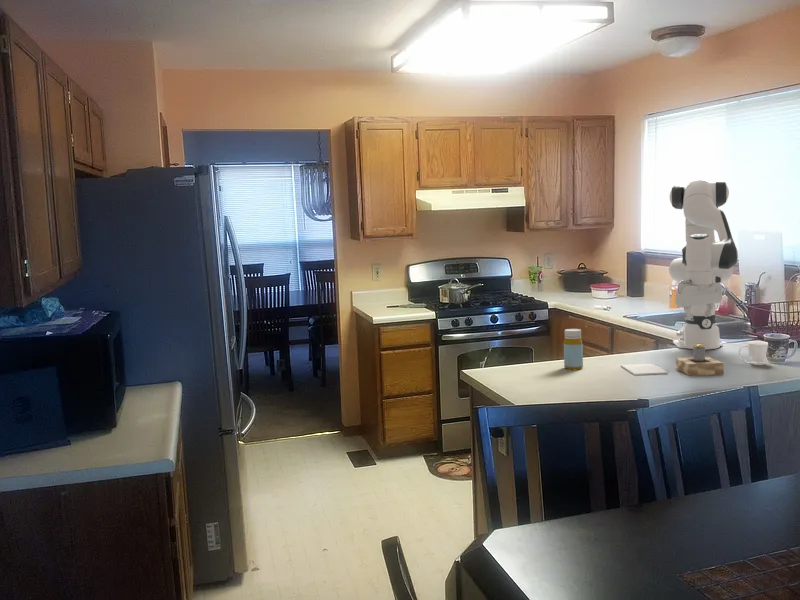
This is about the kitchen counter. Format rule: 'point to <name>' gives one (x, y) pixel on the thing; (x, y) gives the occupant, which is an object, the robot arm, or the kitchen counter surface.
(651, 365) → the mat
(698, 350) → the peg
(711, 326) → the robot arm
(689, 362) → the block
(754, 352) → the cup
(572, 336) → the bottle
